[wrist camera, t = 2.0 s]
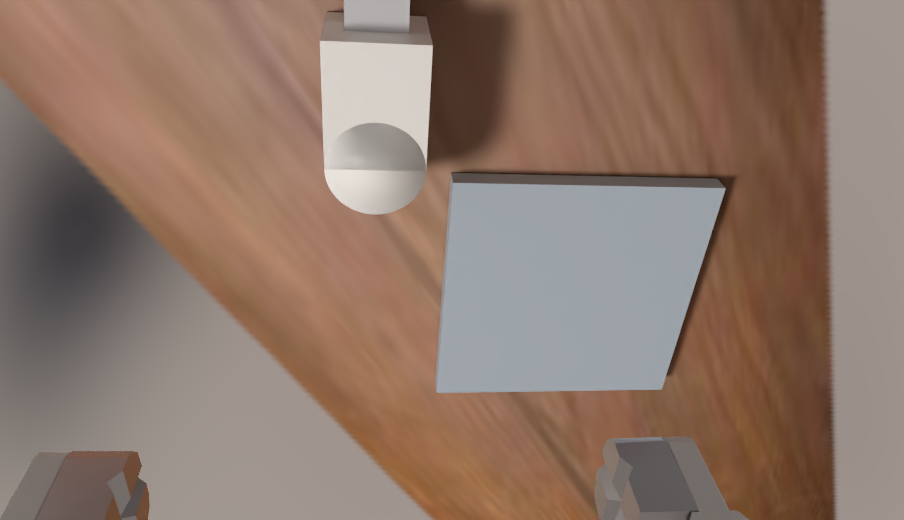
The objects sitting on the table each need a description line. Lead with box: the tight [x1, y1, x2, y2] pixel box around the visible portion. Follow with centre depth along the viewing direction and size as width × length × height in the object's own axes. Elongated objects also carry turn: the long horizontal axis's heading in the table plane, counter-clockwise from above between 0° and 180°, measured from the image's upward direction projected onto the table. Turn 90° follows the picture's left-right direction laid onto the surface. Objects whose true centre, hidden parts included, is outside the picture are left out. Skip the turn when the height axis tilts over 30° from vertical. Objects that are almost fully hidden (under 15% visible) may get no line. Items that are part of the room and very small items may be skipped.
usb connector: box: [320, 0, 433, 214], centre depth 28 cm, size 9×4×4 cm, turn 176°
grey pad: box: [435, 173, 726, 393], centre depth 36 cm, size 13×13×1 cm
